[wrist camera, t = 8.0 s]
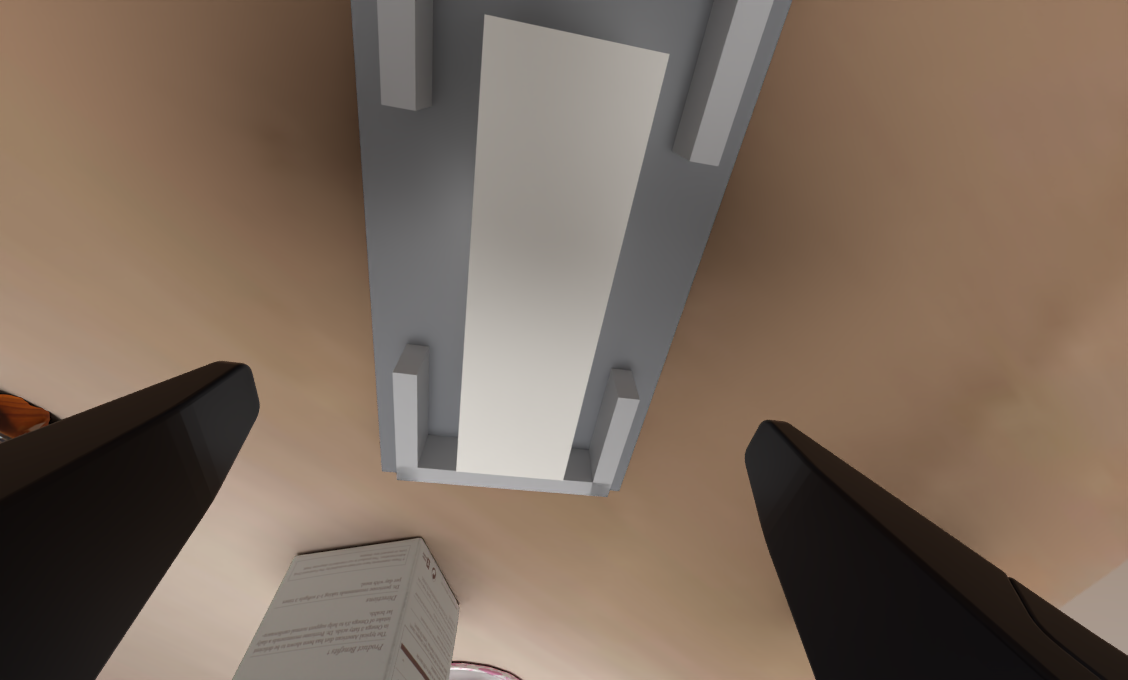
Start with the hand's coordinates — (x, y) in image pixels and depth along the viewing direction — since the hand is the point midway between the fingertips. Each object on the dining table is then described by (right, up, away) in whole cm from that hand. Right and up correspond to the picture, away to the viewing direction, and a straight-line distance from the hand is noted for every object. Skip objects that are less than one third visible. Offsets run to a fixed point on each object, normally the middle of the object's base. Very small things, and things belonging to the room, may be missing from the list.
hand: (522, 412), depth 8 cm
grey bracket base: (0, +4, +7) cm, 9 cm away
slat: (0, +4, +7) cm, 8 cm away
